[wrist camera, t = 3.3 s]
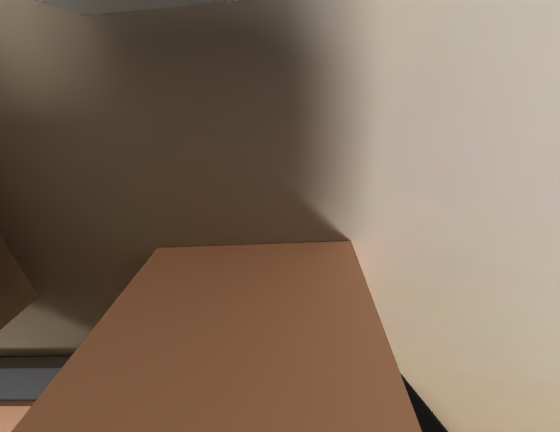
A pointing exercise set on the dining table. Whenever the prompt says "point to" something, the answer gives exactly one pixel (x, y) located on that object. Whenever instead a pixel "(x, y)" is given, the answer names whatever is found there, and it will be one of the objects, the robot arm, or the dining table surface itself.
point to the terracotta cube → (234, 349)
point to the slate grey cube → (122, 5)
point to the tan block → (13, 287)
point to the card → (24, 385)
